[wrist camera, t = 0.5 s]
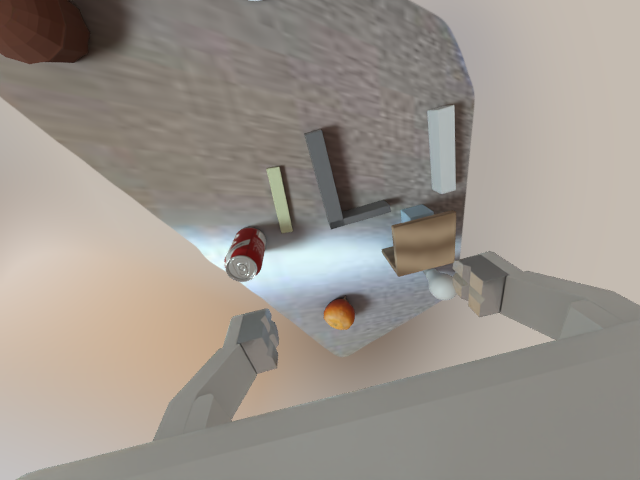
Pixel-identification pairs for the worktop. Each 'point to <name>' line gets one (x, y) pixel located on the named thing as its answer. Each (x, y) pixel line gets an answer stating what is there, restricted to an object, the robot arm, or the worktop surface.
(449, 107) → the grey stick
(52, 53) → the muffin
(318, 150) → the hook tool
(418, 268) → the shelf
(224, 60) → the worktop surface
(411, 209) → the block
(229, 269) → the soda can
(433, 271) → the lightbulb
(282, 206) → the pale green stick
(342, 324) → the fruit
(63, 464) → the robot arm
